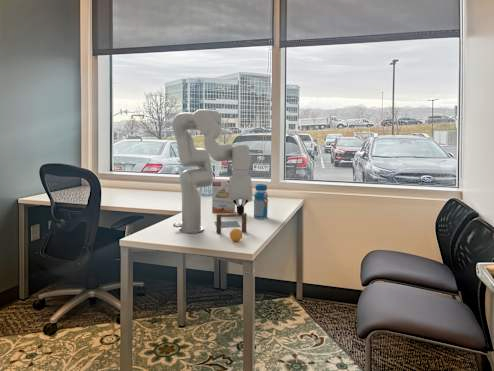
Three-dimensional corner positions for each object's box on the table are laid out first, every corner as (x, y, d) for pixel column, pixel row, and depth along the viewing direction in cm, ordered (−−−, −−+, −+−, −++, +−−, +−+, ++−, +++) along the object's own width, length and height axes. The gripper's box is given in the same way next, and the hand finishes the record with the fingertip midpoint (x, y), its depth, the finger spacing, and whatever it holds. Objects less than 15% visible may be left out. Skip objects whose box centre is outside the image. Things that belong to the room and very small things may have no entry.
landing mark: (216, 227, 207) (216, 227, 207) (214, 221, 220) (214, 221, 220) (240, 226, 210) (240, 226, 209) (236, 221, 222) (236, 221, 222)
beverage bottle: (255, 219, 227) (255, 185, 225) (252, 216, 236) (252, 183, 233) (269, 219, 229) (270, 185, 226) (265, 216, 237) (266, 183, 234)
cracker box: (211, 212, 244) (212, 179, 241) (214, 210, 250) (214, 178, 247) (233, 213, 242) (234, 180, 239) (235, 211, 248) (235, 179, 245)
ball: (230, 243, 179) (230, 230, 178) (228, 239, 185) (229, 227, 184) (243, 242, 180) (243, 230, 179) (241, 239, 186) (241, 226, 185)
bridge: (217, 233, 195) (217, 214, 194) (216, 232, 198) (216, 213, 197) (246, 232, 198) (246, 214, 197) (245, 231, 201) (245, 212, 200)
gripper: (255, 172, 174) (255, 212, 176) (222, 172, 171) (222, 213, 173) (259, 173, 166) (258, 215, 169) (224, 174, 164) (224, 217, 166)
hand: (240, 214), depth 171 cm, fingers closed
